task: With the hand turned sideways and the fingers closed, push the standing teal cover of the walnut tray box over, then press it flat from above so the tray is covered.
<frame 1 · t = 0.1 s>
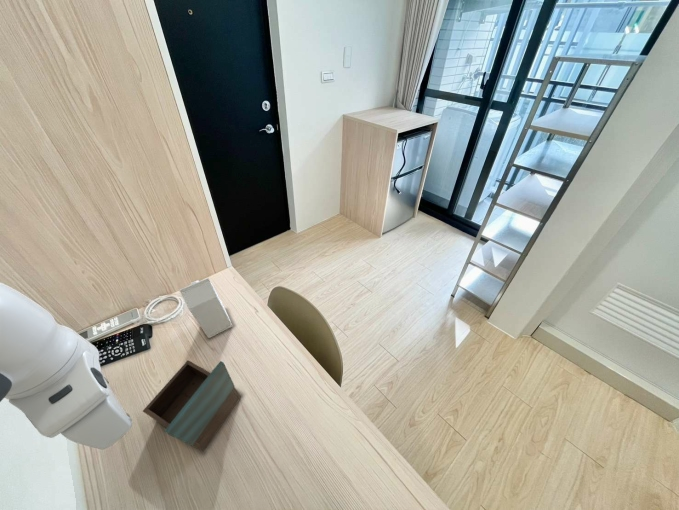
hand: (113, 402, 46), 23 cm above the table, tool pointing down, fingers open, 8 cm apart
cover: (205, 404, 52), point 15 cm above the table, hinge at 100.0°
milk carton: (217, 324, 82), on the table
tray box: (200, 407, 65), on the table
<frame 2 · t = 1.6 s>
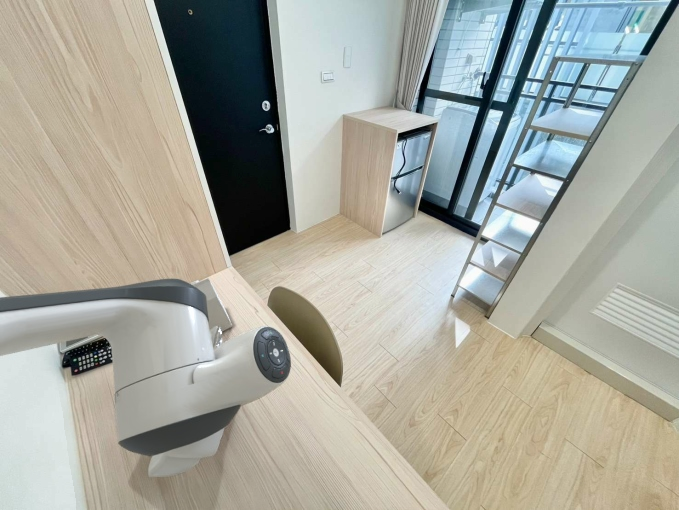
hand: (167, 405, 47), 21 cm above the table, tool tilted 50°, fingers open, 8 cm apart
cover: (208, 406, 52), point 15 cm above the table, hinge at 105.0°, touching gripper
everything else where it was.
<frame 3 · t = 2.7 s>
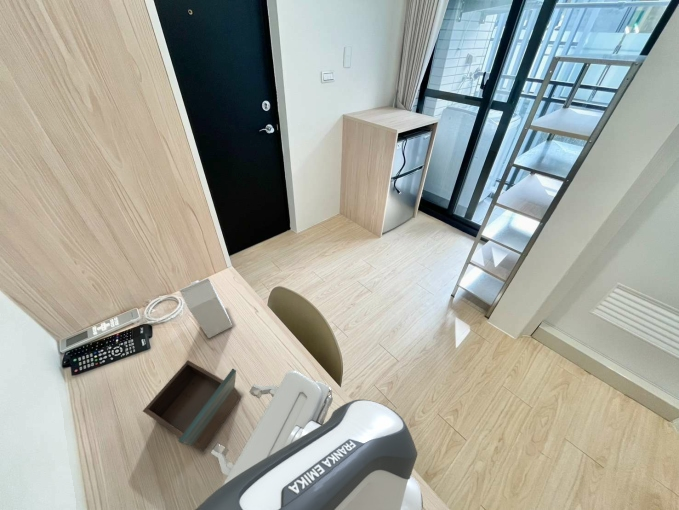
hand: (235, 416, 44), 22 cm above the table, tool horizontal, fingers open, 8 cm apart
cover: (211, 408, 52), point 14 cm above the table, hinge at 110.4°
everything else where it was.
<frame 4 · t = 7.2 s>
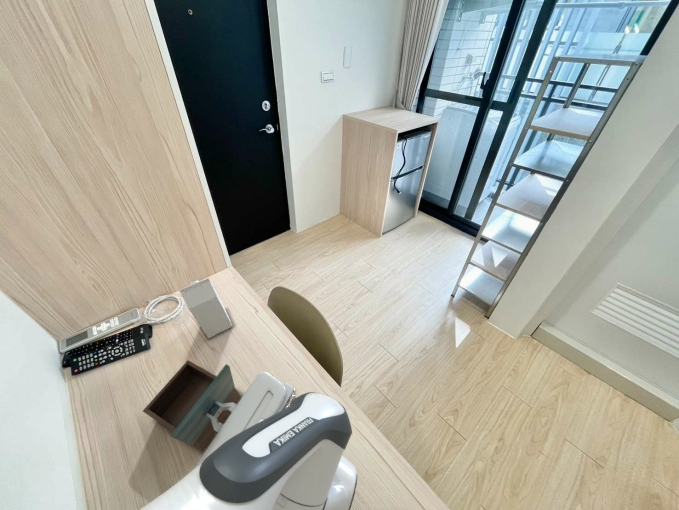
hand: (211, 408, 52), 14 cm above the table, tool horizontal, fingers closed, pressing on cover
cover: (208, 406, 52), point 15 cm above the table, hinge at 104.8°, touching gripper
everything else where it was.
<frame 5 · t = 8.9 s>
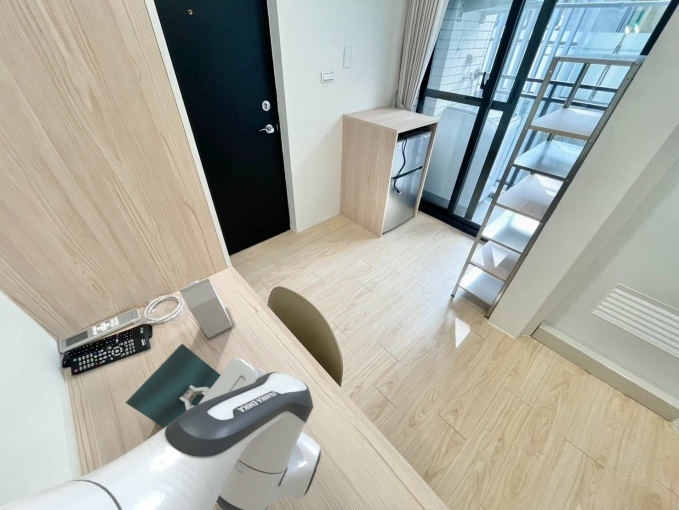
hand: (186, 392, 54), 14 cm above the table, tool horizontal, fingers closed, pressing on cover
cover: (186, 393, 55), point 13 cm above the table, hinge at 51.7°, touching gripper
everything else where it was.
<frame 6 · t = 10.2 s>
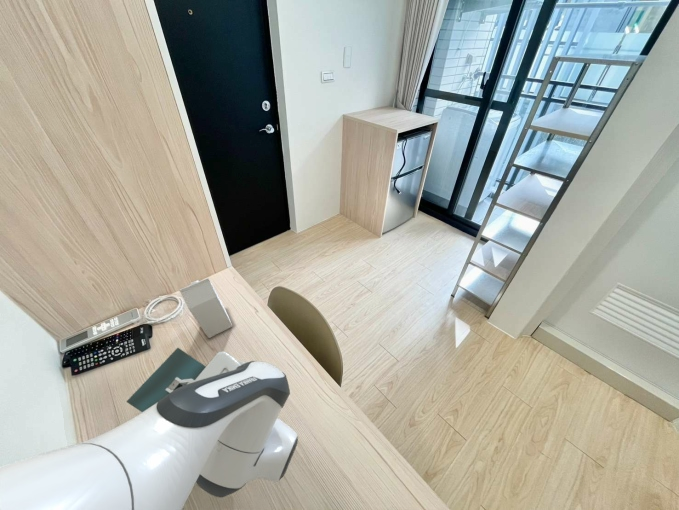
hand: (171, 384, 57), 13 cm above the table, tool horizontal, fingers closed
cover: (183, 393, 58), point 10 cm above the table, hinge at 24.8°, touching gripper
everything else where it was.
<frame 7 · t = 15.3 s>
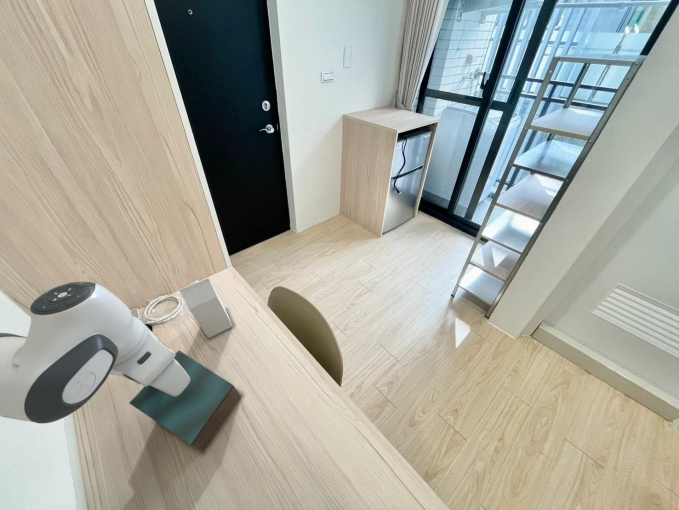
hand: (161, 376, 59), 12 cm above the table, tool pointing down, fingers closed
cover: (184, 393, 59), point 9 cm above the table, hinge at 16.9°
everything else where it was.
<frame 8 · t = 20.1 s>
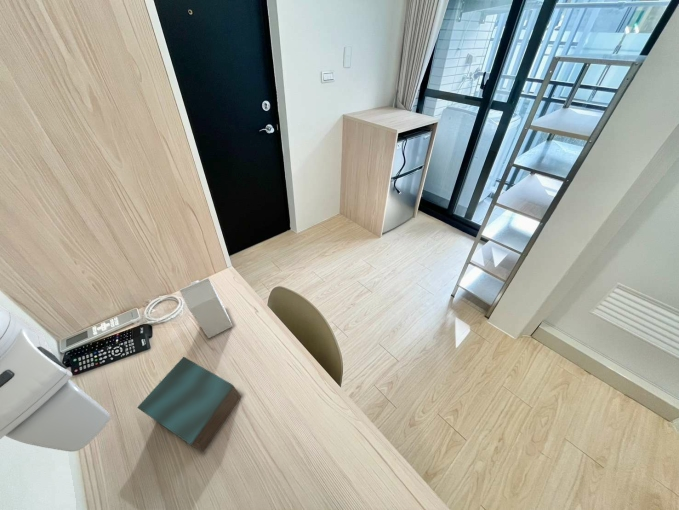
hand: (75, 406, 35), 33 cm above the table, tool pointing down, fingers closed
cover: (187, 396, 60), point 7 cm above the table, hinge at 1.4°
everything else where it was.
at the end: cover at +1° (first picture: +100°); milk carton moved 0.2 cm from its start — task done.
